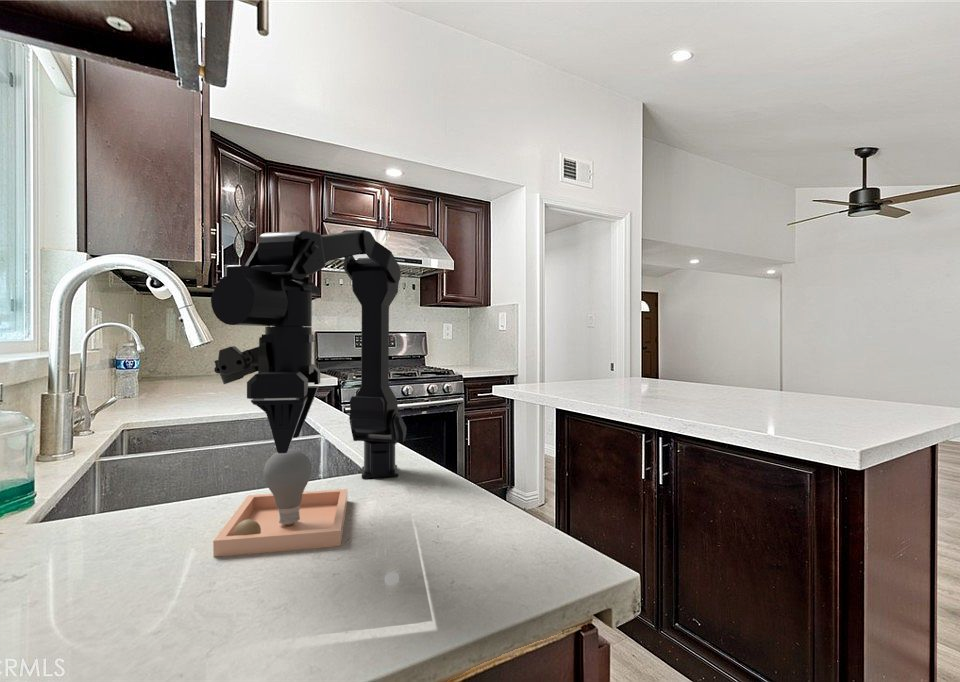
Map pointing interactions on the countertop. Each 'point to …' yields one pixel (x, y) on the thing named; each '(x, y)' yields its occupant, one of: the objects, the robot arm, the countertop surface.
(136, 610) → the countertop surface
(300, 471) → the light bulb
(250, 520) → the cork ball
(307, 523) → the dish
